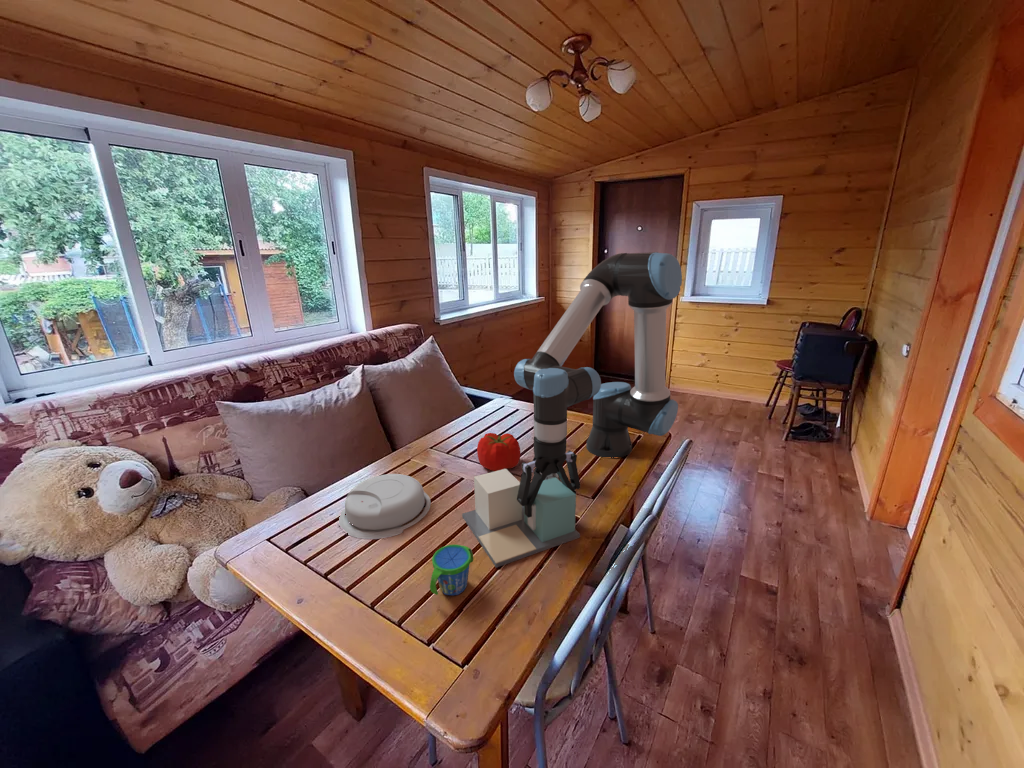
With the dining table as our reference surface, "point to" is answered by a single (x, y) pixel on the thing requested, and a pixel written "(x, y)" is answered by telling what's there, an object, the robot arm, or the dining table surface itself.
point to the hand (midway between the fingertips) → (549, 520)
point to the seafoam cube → (553, 510)
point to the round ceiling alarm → (383, 506)
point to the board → (511, 539)
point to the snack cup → (451, 569)
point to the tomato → (498, 451)
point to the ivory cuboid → (497, 498)
